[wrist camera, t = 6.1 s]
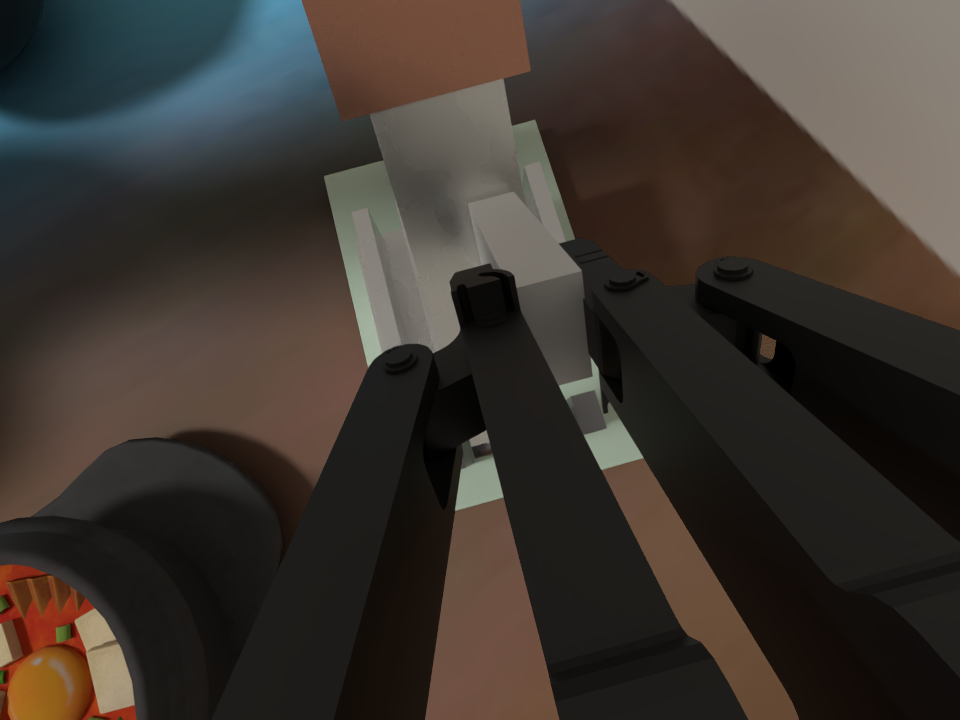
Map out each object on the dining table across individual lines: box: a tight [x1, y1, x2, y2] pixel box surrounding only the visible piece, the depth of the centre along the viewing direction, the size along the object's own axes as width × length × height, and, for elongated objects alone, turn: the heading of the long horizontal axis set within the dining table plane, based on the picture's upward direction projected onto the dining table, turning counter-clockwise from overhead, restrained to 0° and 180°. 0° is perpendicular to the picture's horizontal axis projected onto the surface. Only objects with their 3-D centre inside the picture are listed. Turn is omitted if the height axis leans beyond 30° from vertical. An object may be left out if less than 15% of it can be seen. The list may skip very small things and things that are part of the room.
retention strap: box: [302, 0, 531, 459], centre depth 17 cm, size 17×6×1 cm
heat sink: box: [352, 162, 607, 469], centre depth 25 cm, size 19×11×8 cm, turn 15°
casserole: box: [0, 437, 283, 720], centre depth 23 cm, size 25×19×8 cm
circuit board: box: [324, 120, 643, 511], centre depth 30 cm, size 22×14×1 cm, turn 15°
